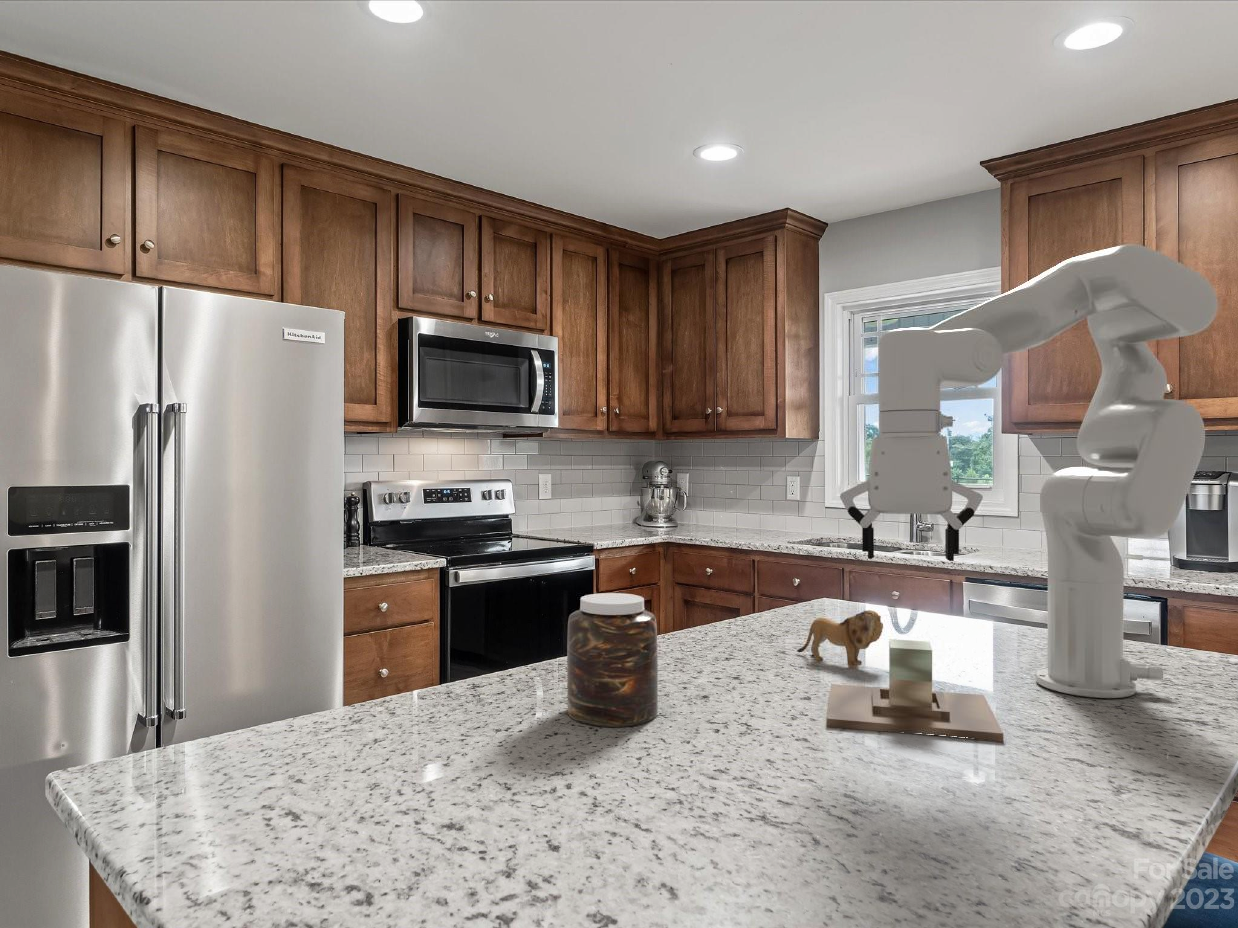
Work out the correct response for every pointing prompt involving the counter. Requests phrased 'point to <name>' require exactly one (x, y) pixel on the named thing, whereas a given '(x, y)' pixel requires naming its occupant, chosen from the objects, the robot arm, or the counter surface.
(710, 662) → the counter surface
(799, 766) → the counter surface
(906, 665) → the two-tone block
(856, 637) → the lion figurine
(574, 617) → the jar
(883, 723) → the walnut socket board
